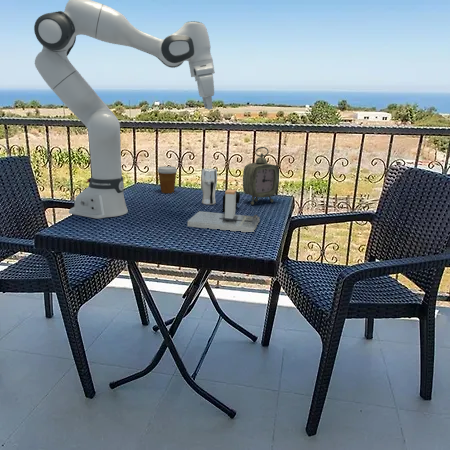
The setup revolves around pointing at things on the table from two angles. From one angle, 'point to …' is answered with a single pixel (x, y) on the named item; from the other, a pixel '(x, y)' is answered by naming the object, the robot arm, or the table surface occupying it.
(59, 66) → the robot arm
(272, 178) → the tabletop clock
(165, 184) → the disposable coffee cup
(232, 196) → the fader tab
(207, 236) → the table surface
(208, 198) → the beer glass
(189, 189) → the table surface
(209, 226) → the plate
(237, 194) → the digital camera
